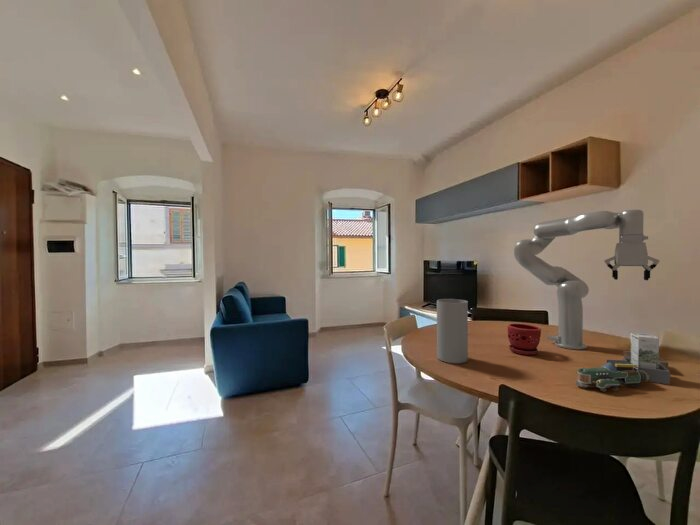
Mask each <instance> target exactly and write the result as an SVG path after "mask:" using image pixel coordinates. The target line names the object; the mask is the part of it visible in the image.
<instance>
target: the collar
mask: <svg viewBox="0 0 700 525" xmlns="http://www.w3.org/2000/svg"><path fill="white" fill-rule="evenodd" d="M623 358H628V359H630V351H629V350H628V351H627V350H623ZM658 362H659V363H661V364H662V365H663V366H664V367H665V368H666V369H668V370H669V362H668V361H667V360H666V359H664V358H663V357H661V356H660V355H659V358H658Z"/></svg>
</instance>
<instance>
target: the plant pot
mask: <svg viewBox="0 0 700 525" xmlns="http://www.w3.org/2000/svg"><path fill="white" fill-rule="evenodd" d="M541 335H542V328H541V327H539V326H535V325H532V324H527V323H526V324H523V323H509V324H508V325H507V338H508V342H509V345H508V348H509V350H510V351H511V352H513V353H515V354H519V355H526V356H529V355H531V356H532V355H536V354H538V352H539V349H538V346H540V345H539V344H540V341H541Z"/></svg>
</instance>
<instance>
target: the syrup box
mask: <svg viewBox="0 0 700 525" xmlns="http://www.w3.org/2000/svg"><path fill="white" fill-rule="evenodd" d="M629 341H630V342H629V343H630V344H629V347H630V348H629V349H630V350H629V352H630V363H632V364H635V365H637V366H638V367H643V368H651V369H658V358H659V356H660V354H659V353H660V351H659V350H660V339H659V337H657V336H655V335H654V334H651V333H634V332H631V333H630V340H629Z"/></svg>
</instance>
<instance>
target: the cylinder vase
mask: <svg viewBox="0 0 700 525" xmlns="http://www.w3.org/2000/svg"><path fill="white" fill-rule="evenodd" d="M468 303H469V301H468V300H465V299H456V298H442V299H441V298H440V299H437V300H436V357H437V359H438V360H439V361H441V362H443V361H444V363H446V362H447V364H452V363H453V364H454V365H455V364H457V365H459V364H464V363H466V362H468V359H469V343H468V342H469V339H468V338H469V329H468V328H469V322H468V321H469V318H468V316H469V312H468V311H469V310H468V309H469V308H468ZM453 364H452V365H453Z"/></svg>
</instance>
